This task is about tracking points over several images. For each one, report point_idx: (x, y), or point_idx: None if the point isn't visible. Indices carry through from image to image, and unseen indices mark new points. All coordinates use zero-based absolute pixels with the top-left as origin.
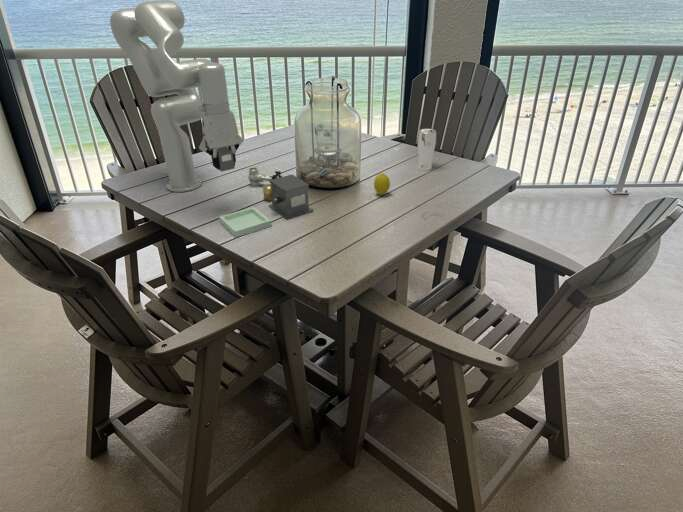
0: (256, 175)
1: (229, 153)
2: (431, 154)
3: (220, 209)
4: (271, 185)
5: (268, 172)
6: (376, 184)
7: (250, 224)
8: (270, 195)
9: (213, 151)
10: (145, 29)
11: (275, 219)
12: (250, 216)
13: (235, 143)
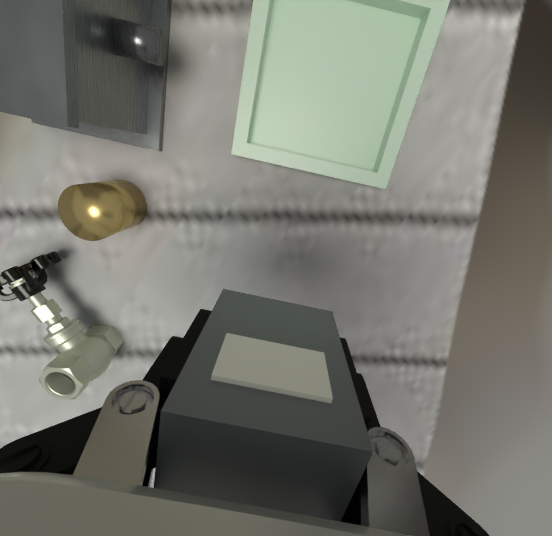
0: (74, 350)
1: (220, 390)
2: None
3: (306, 274)
4: (84, 116)
5: (18, 382)
6: None
7: (327, 48)
8: (115, 185)
9: (420, 514)
10: None
11: (210, 16)
12: (277, 119)
13: (12, 492)
